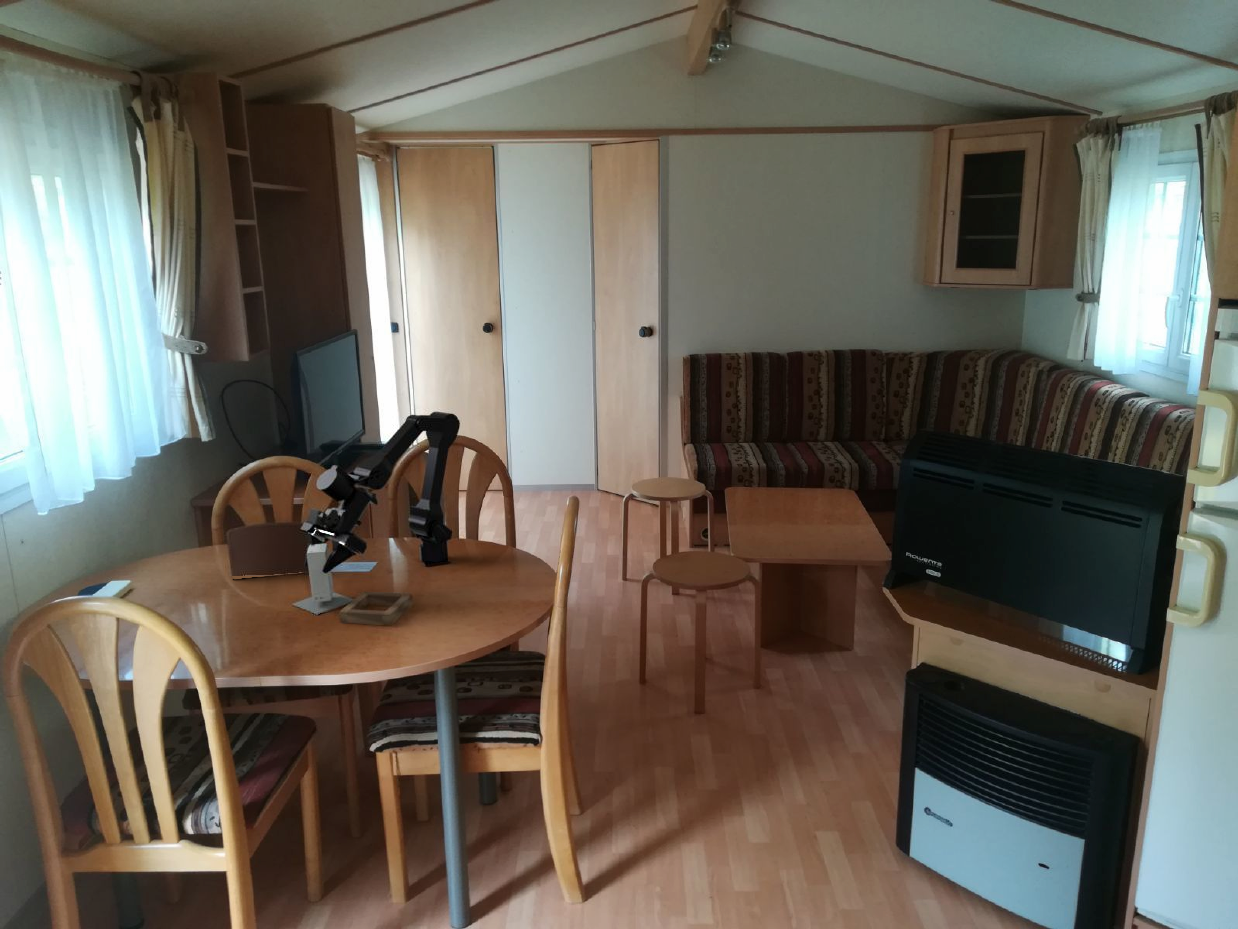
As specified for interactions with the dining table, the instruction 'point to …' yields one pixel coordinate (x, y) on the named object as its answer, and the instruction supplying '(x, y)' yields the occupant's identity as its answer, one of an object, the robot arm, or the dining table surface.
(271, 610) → the dining table surface
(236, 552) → the letter holder
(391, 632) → the dining table surface
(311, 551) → the skincare box
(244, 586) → the dining table surface
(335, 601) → the grey mat
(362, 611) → the walnut collar
